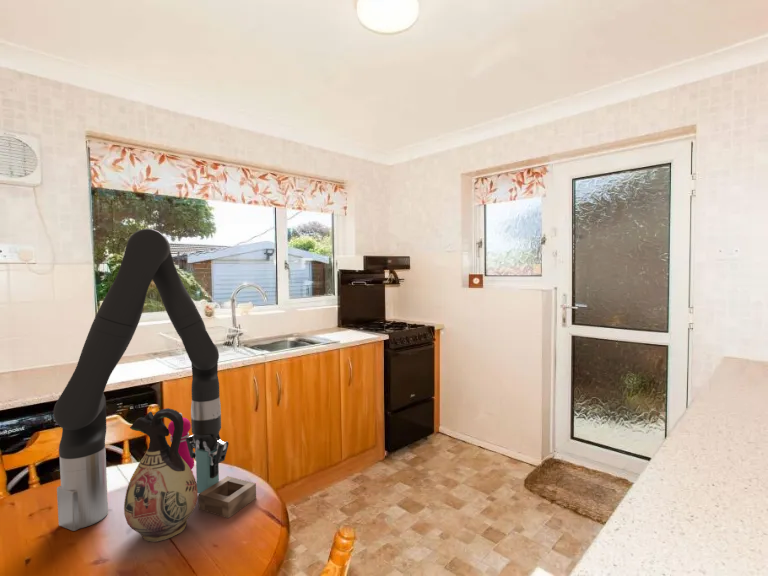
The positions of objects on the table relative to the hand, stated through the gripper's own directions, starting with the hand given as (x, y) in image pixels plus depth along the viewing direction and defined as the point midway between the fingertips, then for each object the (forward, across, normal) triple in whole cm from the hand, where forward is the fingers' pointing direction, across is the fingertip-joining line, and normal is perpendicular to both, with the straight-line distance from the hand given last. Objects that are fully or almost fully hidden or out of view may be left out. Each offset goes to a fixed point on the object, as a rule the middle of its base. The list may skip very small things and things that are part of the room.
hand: (207, 474), depth 116 cm
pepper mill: (+5, -13, +2) cm, 14 cm away
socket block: (+5, +9, -2) cm, 11 cm away
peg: (+4, 0, 0) cm, 4 cm away
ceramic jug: (+5, +4, -17) cm, 18 cm away
